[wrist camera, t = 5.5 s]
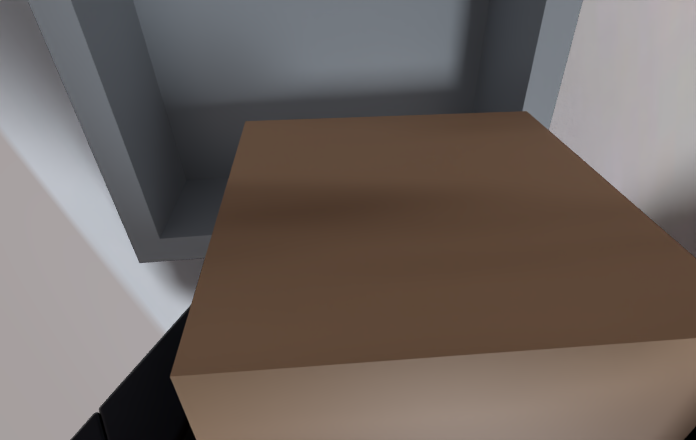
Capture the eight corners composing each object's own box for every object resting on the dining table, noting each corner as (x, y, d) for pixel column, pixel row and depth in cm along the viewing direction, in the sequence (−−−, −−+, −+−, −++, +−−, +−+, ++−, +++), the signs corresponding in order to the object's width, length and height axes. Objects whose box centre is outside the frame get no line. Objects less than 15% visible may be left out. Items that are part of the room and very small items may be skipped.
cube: (478, 304, 10) (587, 548, 6) (275, 318, 10) (256, 581, 6) (526, 111, 8) (780, 330, 4) (245, 120, 7) (169, 377, 3)
